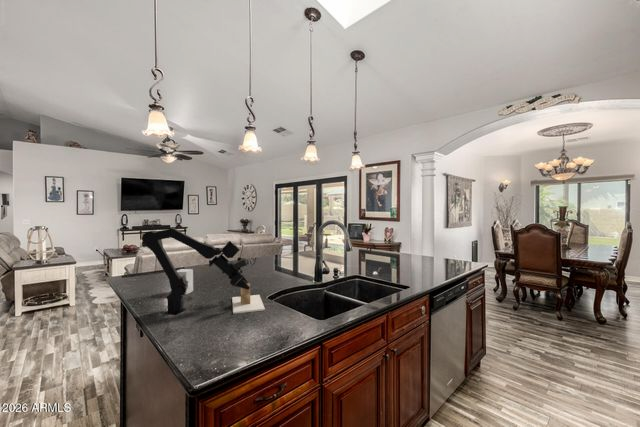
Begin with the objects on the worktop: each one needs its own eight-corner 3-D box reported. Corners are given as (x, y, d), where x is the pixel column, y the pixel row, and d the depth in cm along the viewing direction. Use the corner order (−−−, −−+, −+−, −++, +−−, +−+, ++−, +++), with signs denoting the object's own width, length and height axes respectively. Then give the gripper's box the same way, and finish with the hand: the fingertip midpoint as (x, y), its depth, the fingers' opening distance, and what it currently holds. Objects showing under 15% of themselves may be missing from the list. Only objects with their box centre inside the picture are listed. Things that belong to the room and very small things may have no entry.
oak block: (240, 304, 134) (240, 286, 134) (240, 301, 138) (240, 283, 138) (250, 303, 135) (250, 285, 135) (249, 300, 139) (249, 283, 139)
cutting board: (233, 313, 124) (233, 312, 124) (232, 298, 145) (232, 297, 145) (264, 310, 129) (264, 308, 128) (259, 296, 149) (259, 294, 149)
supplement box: (193, 290, 158) (193, 269, 158) (186, 294, 151) (186, 271, 151) (181, 290, 159) (181, 268, 159) (173, 294, 152) (173, 271, 152)
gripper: (237, 256, 126) (262, 278, 130) (236, 250, 144) (258, 270, 147) (219, 274, 123) (245, 296, 127) (220, 266, 141) (242, 286, 145)
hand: (248, 286), depth 137 cm, fingers open, 9 cm apart
